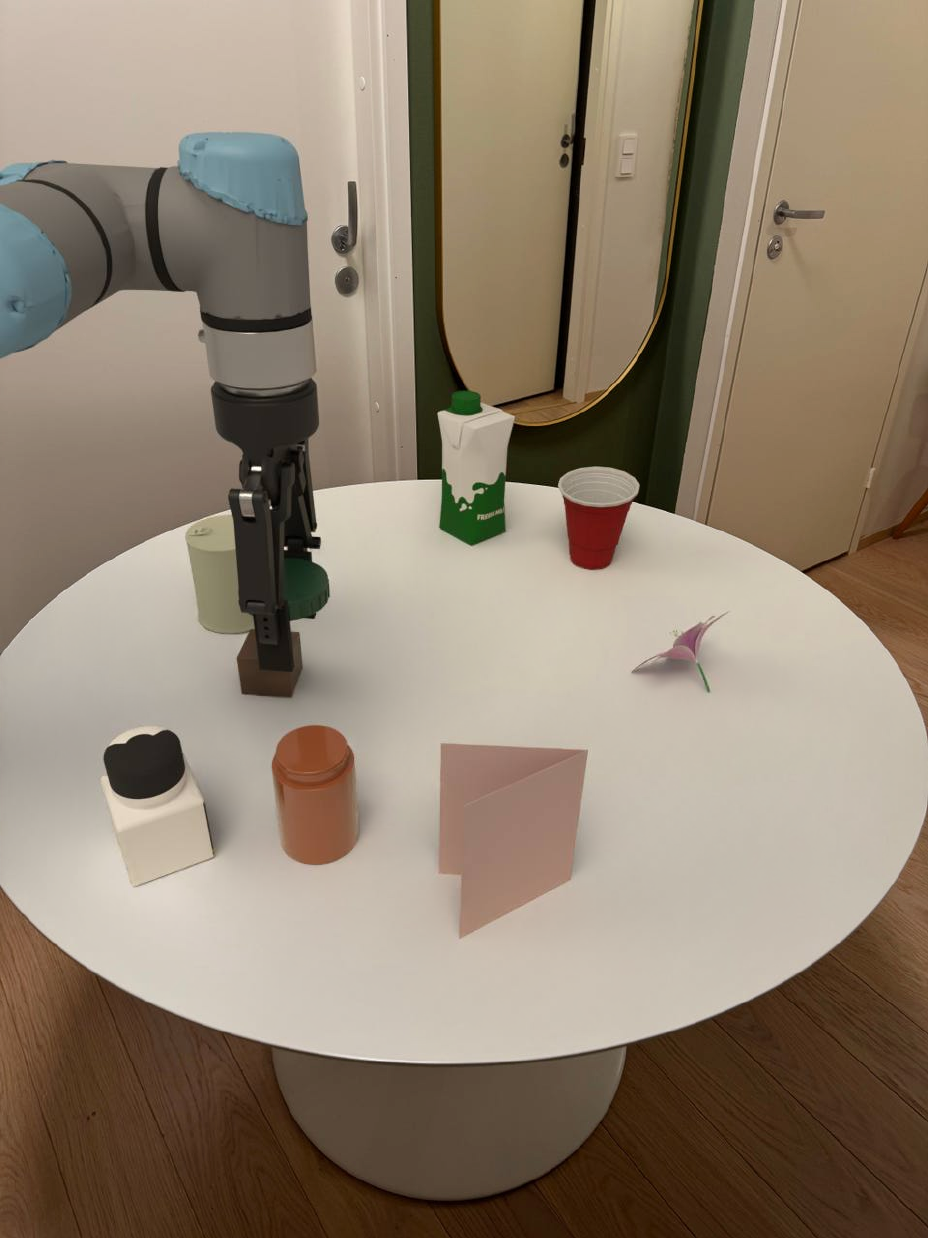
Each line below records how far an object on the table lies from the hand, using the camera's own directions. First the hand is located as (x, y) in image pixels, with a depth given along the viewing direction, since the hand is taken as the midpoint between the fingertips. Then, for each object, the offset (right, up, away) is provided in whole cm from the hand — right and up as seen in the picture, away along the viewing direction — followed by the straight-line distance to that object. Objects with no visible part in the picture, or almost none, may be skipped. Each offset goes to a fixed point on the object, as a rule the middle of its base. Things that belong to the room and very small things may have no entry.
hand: (289, 640), depth 75 cm
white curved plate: (-10, +10, +47) cm, 49 cm away
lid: (0, +5, -3) cm, 6 cm away
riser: (-6, -5, +23) cm, 24 cm away
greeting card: (+18, -22, -2) cm, 29 cm away
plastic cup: (+33, +10, +48) cm, 59 cm away
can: (-13, +2, +34) cm, 37 cm away
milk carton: (+16, +15, +54) cm, 59 cm away
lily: (+40, -5, +26) cm, 48 cm away
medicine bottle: (-12, -19, +3) cm, 22 cm away
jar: (+2, -18, +4) cm, 18 cm away
